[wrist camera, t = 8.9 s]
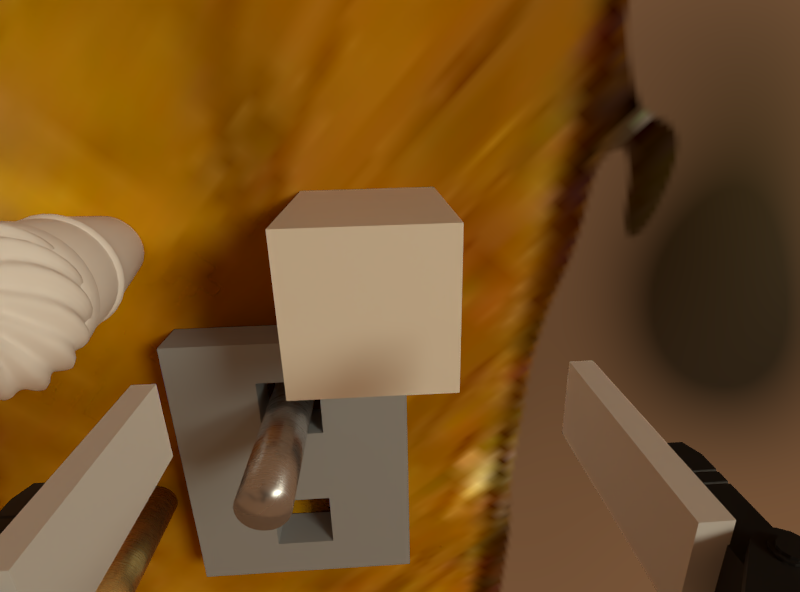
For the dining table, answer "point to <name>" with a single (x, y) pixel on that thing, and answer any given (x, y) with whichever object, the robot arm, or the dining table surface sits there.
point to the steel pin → (274, 464)
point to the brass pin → (140, 543)
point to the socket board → (320, 471)
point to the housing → (367, 293)
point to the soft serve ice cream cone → (58, 291)
